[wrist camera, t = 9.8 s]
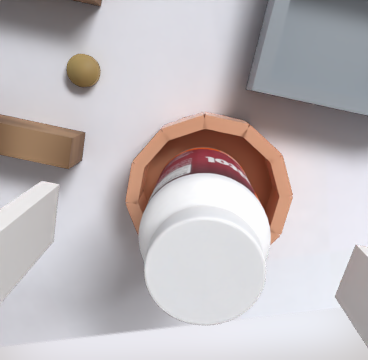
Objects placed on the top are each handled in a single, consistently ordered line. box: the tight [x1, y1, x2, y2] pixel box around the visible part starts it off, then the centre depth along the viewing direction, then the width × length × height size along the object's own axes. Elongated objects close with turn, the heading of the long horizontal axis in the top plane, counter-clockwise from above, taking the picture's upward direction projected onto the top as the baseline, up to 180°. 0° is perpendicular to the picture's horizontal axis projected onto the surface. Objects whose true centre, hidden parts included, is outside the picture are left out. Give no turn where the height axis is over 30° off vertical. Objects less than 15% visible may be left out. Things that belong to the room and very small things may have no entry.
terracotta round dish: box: [125, 112, 293, 245], centre depth 22 cm, size 10×10×3 cm
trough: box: [246, 0, 368, 116], centre depth 19 cm, size 10×8×3 cm
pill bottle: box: [139, 147, 271, 325], centre depth 18 cm, size 6×6×11 cm
